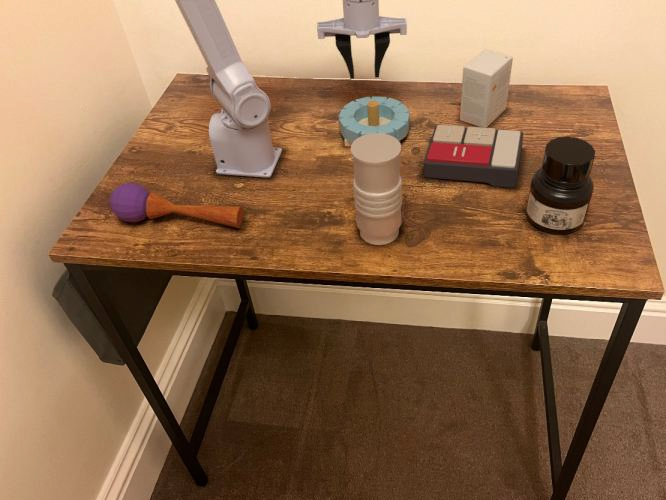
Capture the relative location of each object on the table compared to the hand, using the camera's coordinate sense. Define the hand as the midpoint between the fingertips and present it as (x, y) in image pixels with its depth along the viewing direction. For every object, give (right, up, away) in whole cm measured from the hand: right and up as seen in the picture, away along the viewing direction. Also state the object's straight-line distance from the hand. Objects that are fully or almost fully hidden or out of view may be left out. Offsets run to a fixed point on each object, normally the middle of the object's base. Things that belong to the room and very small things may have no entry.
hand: (364, 75), depth 107 cm
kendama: (-28, -27, -11) cm, 40 cm away
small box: (+22, -5, +7) cm, 23 cm away
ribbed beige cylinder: (+3, -28, -14) cm, 32 cm away
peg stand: (+2, -9, +4) cm, 10 cm away
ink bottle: (+29, -26, -12) cm, 41 cm away
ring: (+2, -8, +3) cm, 9 cm away
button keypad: (+18, -16, -3) cm, 25 cm away
